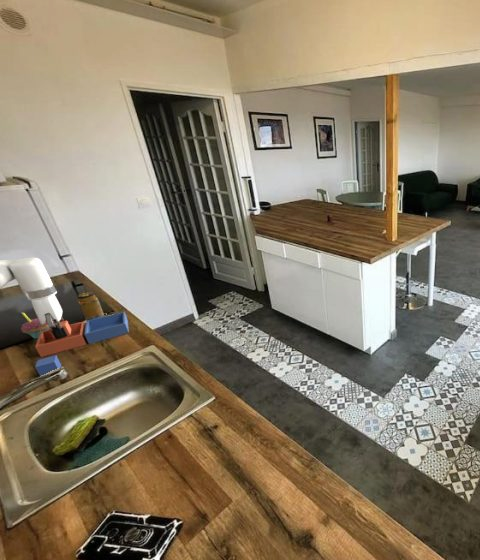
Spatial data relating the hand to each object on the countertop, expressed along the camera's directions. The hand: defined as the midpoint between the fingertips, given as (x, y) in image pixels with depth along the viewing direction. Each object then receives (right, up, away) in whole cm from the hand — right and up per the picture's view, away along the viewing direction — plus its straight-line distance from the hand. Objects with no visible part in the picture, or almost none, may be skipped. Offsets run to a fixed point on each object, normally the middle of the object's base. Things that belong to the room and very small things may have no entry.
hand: (62, 333), depth 118 cm
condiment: (-3, +4, +18) cm, 19 cm away
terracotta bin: (0, -4, +2) cm, 4 cm away
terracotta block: (0, 0, 0) cm, 0 cm away
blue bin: (+10, -1, +9) cm, 13 cm away
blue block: (+10, -11, -13) cm, 20 cm away
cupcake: (-15, -2, +6) cm, 16 cm away
